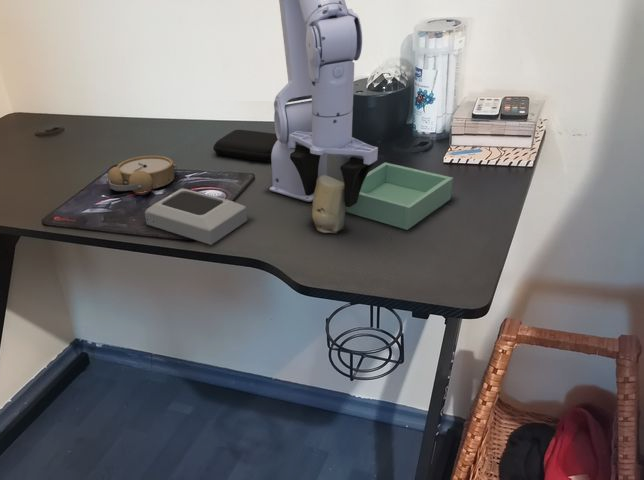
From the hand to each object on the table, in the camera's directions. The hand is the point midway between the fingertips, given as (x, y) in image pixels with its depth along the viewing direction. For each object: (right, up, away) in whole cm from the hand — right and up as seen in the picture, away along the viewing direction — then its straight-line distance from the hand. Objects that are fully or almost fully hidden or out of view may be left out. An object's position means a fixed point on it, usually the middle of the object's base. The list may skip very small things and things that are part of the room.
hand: (330, 198), depth 98 cm
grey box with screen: (-21, -2, +11) cm, 23 cm away
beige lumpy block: (+1, -4, +3) cm, 5 cm away
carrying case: (-8, +18, +33) cm, 38 cm away
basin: (+12, 0, +6) cm, 14 cm away
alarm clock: (-31, +9, +27) cm, 42 cm away
